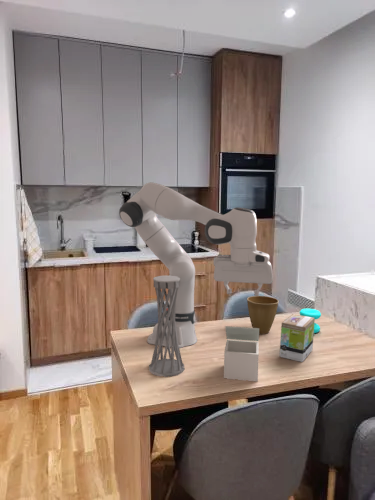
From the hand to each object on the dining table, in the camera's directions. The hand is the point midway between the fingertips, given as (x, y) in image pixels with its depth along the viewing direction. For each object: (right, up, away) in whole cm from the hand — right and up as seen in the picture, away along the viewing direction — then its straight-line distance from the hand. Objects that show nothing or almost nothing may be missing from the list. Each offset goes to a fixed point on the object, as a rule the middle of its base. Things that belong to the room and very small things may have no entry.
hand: (242, 294), depth 133 cm
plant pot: (+17, -24, +53) cm, 61 cm away
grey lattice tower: (-27, -30, +12) cm, 42 cm away
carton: (+1, -30, +9) cm, 31 cm away
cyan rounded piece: (+41, -24, +55) cm, 72 cm away
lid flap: (+1, -16, +9) cm, 18 cm away
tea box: (+26, -28, +27) cm, 47 cm away
